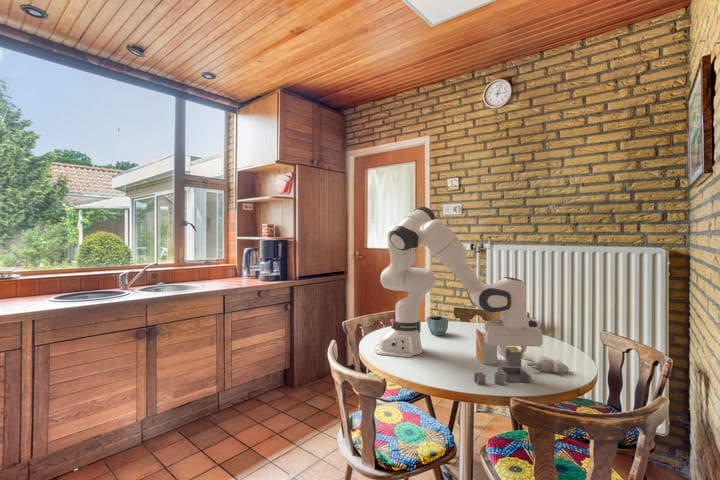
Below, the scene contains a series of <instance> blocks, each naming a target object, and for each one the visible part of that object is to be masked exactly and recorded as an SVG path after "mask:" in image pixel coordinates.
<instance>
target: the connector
mask: <svg viewBox="0 0 720 480" xmlns="http://www.w3.org/2000/svg"><path fill="white" fill-rule="evenodd" d="M520 351H521V349H519V348H517V346H508V347H507V348H505V352H508V357H504V359H505V364H507V365H508V366H510V367H522V358H521V352H520Z"/></svg>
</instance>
